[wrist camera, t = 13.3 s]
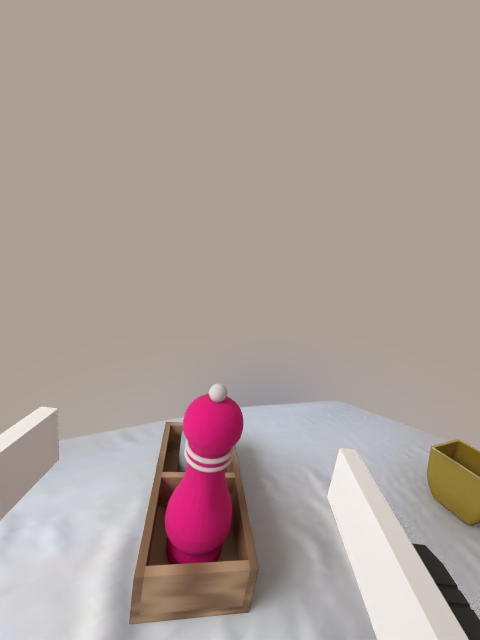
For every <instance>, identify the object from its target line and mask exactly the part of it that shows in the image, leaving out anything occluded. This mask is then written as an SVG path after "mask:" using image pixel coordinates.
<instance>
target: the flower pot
mask: <svg viewBox="0 0 480 640" xmlns="http://www.w3.org/2000/svg"><path fill="white" fill-rule="evenodd" d="M427 478H428V484H429V487H430V490H431V492H432V495H433V497H434V498H435V499H436V500H437V501H438V502H440V503H441V504H442V505H443V506H445V507H446V508H447V509H448V510H450V511H451V512H452V513H453V514H455V515H456V516H457V517H458V518H460V519H461V520H462V521H463V522H465V523H466V524H468V525H472V524H475V523H477V522H479V521H480V451H478V450H476V449H475V448H473V447H471V446H469V445H468V444H466V443H464V442H462V441H460V440H453V441H450V442H446V443H442V444H437V445H434V446H431V451H430V457H429V463H428V469H427Z"/></svg>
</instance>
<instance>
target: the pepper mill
mask: <svg viewBox="0 0 480 640" xmlns="http://www.w3.org/2000/svg"><path fill="white" fill-rule="evenodd" d="M242 430H243V416H242V412H241V409H240V408H239V406H238V405H237V404H236V402H235V401H233V400H232V399H231V398H228V397H227V389H226V387H225V386H224V385H222V384H215V385H213V386H212V387H211V388H210V391H209V394H206V395H203V396H200V397H198V398H197V399H195V400H194V401H193V402H192V403H191V404H190V405H189V407H188V409H187V410H186V413H185V416H184V420H183V431H184V435H185V437H186V443H185V450H184V455H185V459H186V461H187V468H186V472H185V475H184V477H183V479H182V481H181V482H180V483H179V484H178V486H177V487H176V489H175V490H174V492H173V494H172V496H171V498H170V500H169V502H168V506H167V510H166V515H165V529H166V533H167V543H166V555H167V559H168V562H169V564H170V565H172V564H189V563H206V562H217V561H218V560H219V557H220V554H221V550H222V545H223V541H224V540H225V538H226V537H227V535H228V532H229V530H230V526H231V519H232V504H231V497H230V494H229V491H228V488H227V484H226V478H225V472H226V467H227V466H228V465H229V464H230V463H231V461H232V458H233V452H234V445H235V444H236V443H237V442H238V440H239V439H240V437H241V434H242Z"/></svg>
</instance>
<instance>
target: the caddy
mask: <svg viewBox="0 0 480 640" xmlns="http://www.w3.org/2000/svg"><path fill="white" fill-rule="evenodd" d="M182 431H183V423H179V422H166V425H165V430H164V434H163V439H162V444H161V449H160V454H159V459H158V463H157V468H156V473H155V478H154V483H153V488H152V492H151V497H150V502H149V507H148V512H147V516H146V521H145V526H144V531H143V536H142V541H141V545H140V550H139V555H138V560H137V565H136V570H135V574H134V581H133V591H132V601H131V611H130V621H129V624H135V623H145V622H155V621H166V620H176V619H186V618H196V617H206V616H216V615H226V614H236V613H246V612H249V608H250V603H251V599H252V595H253V591H254V586H255V582H256V578H257V574H258V564H257V559H256V554H255V549H254V543H253V538H252V533H251V528H250V522H249V517H248V512H247V507H246V501H245V496H244V491H243V486H242V480H241V475H240V470H239V465H238V459H237V454H236V449H235V445H234V452H233V458H232V461H231V463H230V464H229V465H228V466H227V467H226V472H225V478H226V484H227V488H228V491H229V494H230V497H231V504H232V519H231V526H230V530H229V532H228V535H227V537H226V538H225V540H224V541H223V545H222V550H221V554H220V557H219V560H218V561H217V562H206V563H189V564H172V565H170V564H169V562H168V559H167V555H166V543H167V533H166V529H165V515H166V510H167V506H168V502H169V500H170V498H171V496H172V494H173V492H174V490H175V489H176V487H177V486H178V484H179V483H180V482H181V481H182V479H183V477H184V475H185V472H177V466H178V458H179V451H180V443H181V435H182Z"/></svg>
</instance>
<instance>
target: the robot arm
mask: <svg viewBox="0 0 480 640" xmlns="http://www.w3.org/2000/svg"><path fill="white" fill-rule="evenodd" d="M58 460H59V439H58V409H55V408H48V407H40V408H38V409H37V410H35V411H34V412H33V413H31V414H30V415H28V416H27V417H25V418H24V419H22V420H21V421H19V422H18V423H17V424H15V425H14V426H12V427H11V428H9V429H8V430H6V431H5V432H3V433H2V434H1V435H0V520H1V519H2V518H3V517H4V516H5V515H6V514H7V513H8V512H9V511H10V510H11V509H12V508H13V507H14V506H15V505H16V504H17V502H18V501H19V500H20V499H21V498H22V497H23V496H24V495H25V494H26V493H27V492H28V491H29V490H30V489H31V488H32V487H33V486H34V485H35V484H36V483H37V482H38V481H39V480H40V479H41V478H42V477H43V476H44V475H45V473H46V472H47V471H48V470H49V469H50V468H51V467H52V466H53V465H54V464H55V463H56V462H57V461H58ZM327 497H328V500H329V503H330V506H331V509H332V511H333V514H334V517H335V520H336V523H337V526H338V529H339V532H340V534H341V537H342V540H343V543H344V546H345V549H346V552H347V554H348V557H349V560H350V563H351V566H352V569H353V572H354V574H355V577H356V580H357V583H358V586H359V589H360V592H361V595H362V597H363V600H364V603H365V606H366V609H367V612H368V615H369V617H370V620H371V623H372V626H373V629H374V632H375V635H376V638H377V640H480V620H479V618H478V617H477V615H476V614H475V612H474V611H473V610H471V608H470V605H469V603H468V602H467V600H466V599H465V597H464V595H463V594H462V592H461V591H460V590H458V588H457V585H456V583H455V582H454V580H453V579H452V577H451V576H450V574H449V573H448V571H447V570H446V568H445V567H444V565H443V564H442V563H441V562H440V561H439V560H438V558H437V557H436V556H435V555H434V554H433V553H432V552H431V551H430V550H429V549H428V548H427V547H426V546H425V545H419V544H412V543H411V541H410V540H409V538H408V536H407V535H406V533H405V531H404V530H403V528H402V526H401V525H400V523H399V521H398V520H397V518H396V516H395V514H394V513H393V511H392V509H391V508H390V506H389V504H388V503H387V501H386V499H385V498H384V496H383V494H382V493H381V491H380V489H379V488H378V486H377V484H376V482H375V481H374V479H373V477H372V476H371V474H370V472H369V471H368V469H367V467H366V466H365V464H364V462H363V461H362V459H361V457H360V456H359V454H358V452H357V450H352V449H345V448H340V449H339V453H338V457H337V461H336V465H335V468H334V472H333V476H332V480H331V484H330V488H329V492H328V495H327Z"/></svg>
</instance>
